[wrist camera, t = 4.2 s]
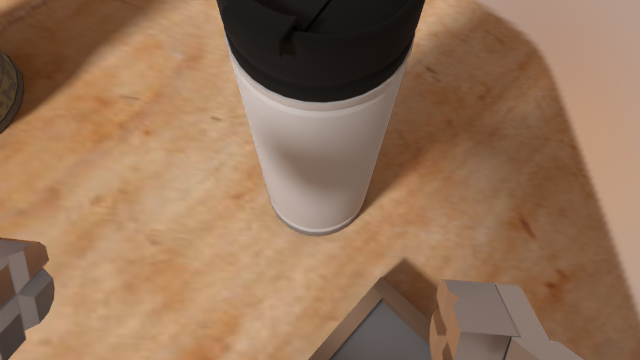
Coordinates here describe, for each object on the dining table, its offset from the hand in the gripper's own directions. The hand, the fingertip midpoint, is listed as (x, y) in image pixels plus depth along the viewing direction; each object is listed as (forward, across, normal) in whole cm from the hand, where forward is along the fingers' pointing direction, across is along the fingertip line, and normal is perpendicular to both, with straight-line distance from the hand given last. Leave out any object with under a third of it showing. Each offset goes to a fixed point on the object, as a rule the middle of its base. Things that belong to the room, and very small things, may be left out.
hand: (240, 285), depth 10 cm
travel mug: (+20, -1, +8) cm, 22 cm away
